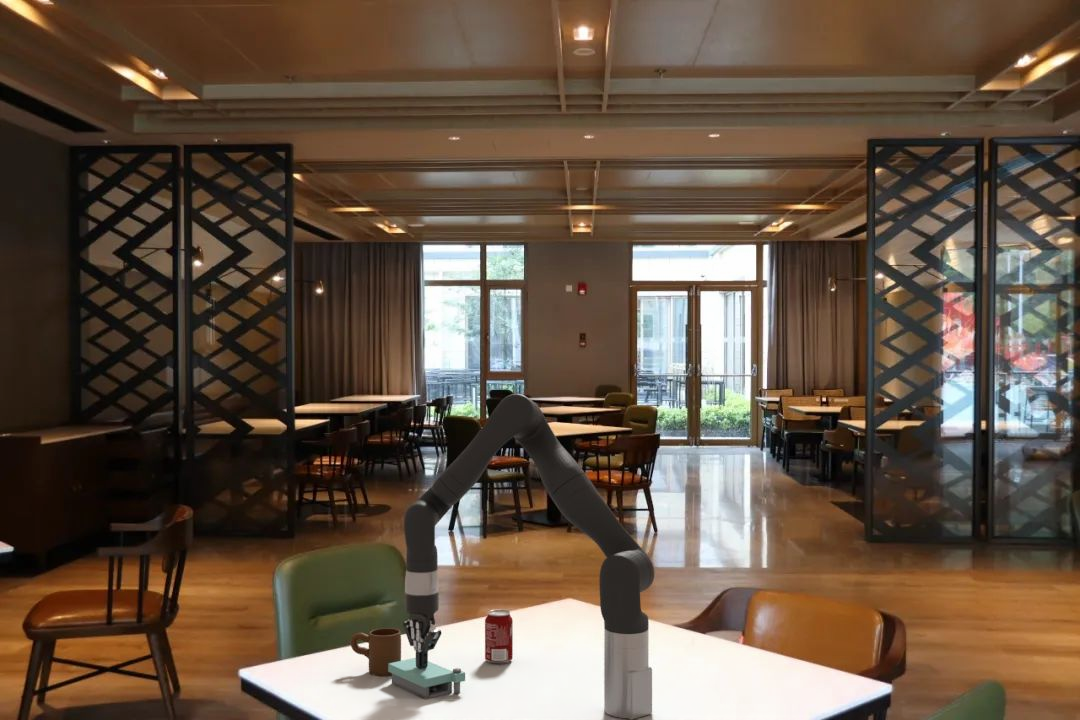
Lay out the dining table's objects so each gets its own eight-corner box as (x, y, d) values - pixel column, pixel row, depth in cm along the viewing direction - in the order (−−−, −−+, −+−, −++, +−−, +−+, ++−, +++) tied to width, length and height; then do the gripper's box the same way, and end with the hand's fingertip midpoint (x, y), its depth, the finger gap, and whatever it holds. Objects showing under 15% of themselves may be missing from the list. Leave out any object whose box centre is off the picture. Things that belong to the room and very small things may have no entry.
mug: (346, 676, 225) (347, 636, 225) (353, 666, 233) (353, 627, 233) (398, 676, 225) (398, 636, 225) (403, 667, 232) (403, 627, 233)
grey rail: (461, 692, 213) (461, 681, 213) (428, 701, 208) (428, 689, 208) (423, 676, 225) (423, 665, 225) (391, 683, 220) (391, 672, 220)
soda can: (509, 666, 233) (509, 616, 233) (482, 664, 234) (482, 615, 235) (514, 658, 240) (514, 609, 240) (488, 656, 241) (488, 608, 241)
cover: (465, 680, 213) (465, 669, 213) (428, 689, 207) (428, 678, 207) (423, 663, 226) (423, 653, 226) (388, 671, 220) (388, 660, 220)
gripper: (452, 592, 214) (452, 671, 214) (420, 582, 225) (420, 657, 224) (423, 597, 210) (423, 677, 209) (392, 587, 220) (391, 663, 220)
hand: (421, 667), depth 217 cm, fingers closed
